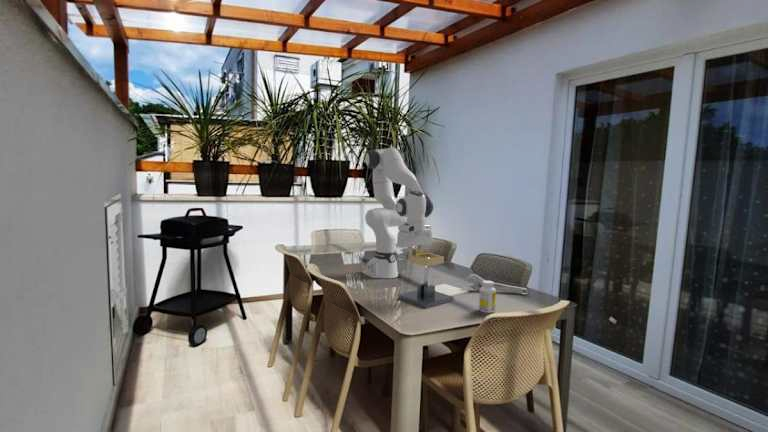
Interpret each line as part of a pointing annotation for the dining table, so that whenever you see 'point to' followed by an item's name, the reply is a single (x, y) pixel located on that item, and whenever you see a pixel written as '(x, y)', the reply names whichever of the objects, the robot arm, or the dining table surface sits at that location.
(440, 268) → the dining table surface
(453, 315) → the dining table surface
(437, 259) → the collar
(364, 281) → the dining table surface
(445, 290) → the pad
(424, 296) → the rod stand
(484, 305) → the supplement bottle
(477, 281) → the wrench
